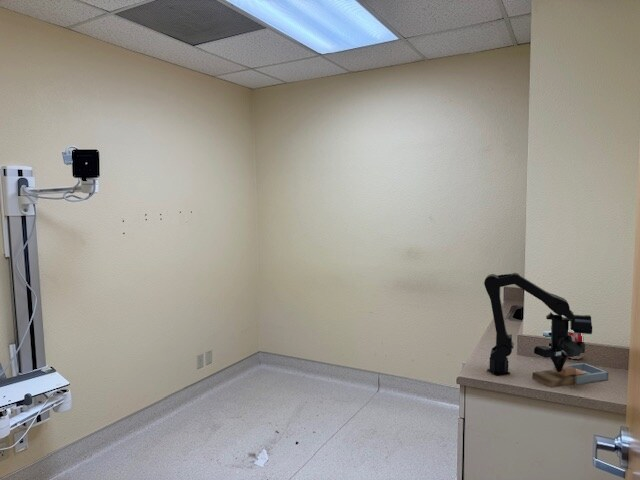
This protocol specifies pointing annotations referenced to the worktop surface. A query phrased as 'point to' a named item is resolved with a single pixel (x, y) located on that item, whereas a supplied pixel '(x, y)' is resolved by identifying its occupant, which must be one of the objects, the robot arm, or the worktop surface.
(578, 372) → the tile
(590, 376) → the box
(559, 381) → the bench board
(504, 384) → the worktop surface
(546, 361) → the worktop surface
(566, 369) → the tile
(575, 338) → the soda can
